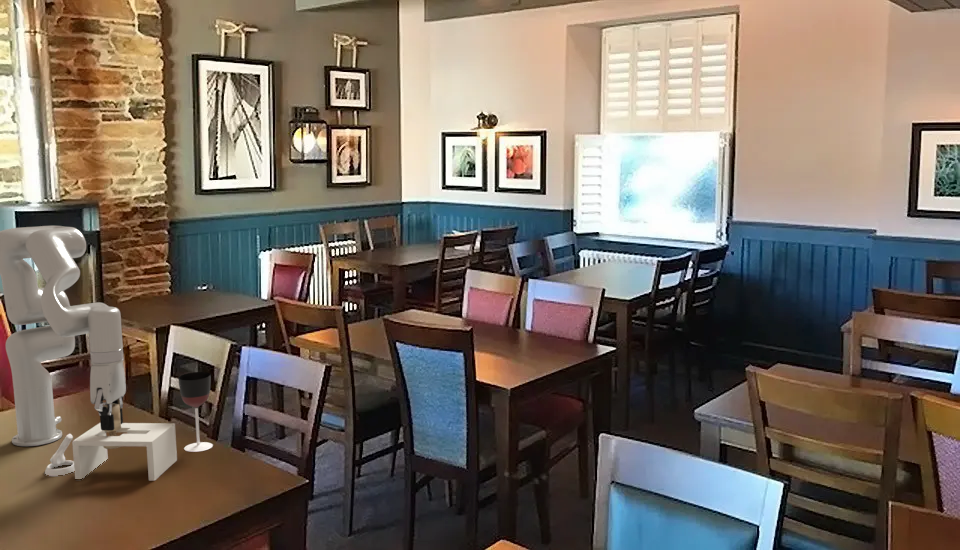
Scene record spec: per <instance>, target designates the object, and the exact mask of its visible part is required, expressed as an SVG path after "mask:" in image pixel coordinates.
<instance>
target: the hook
mask: <svg viewBox="0 0 960 550" xmlns="http://www.w3.org/2000/svg"><path fill="white" fill-rule="evenodd" d="M73 439H74V436H73V435H72V433H68V434H67V435H65V437H64V439H63V441H62V442H61V443H60V445H59V447H58V449H57V450H56V451H55V453H54V454H53V455H52V456H51V458H50V459H49V462H50V464H48V465H47V466H46V468H45V471H44V475H45V474H46V475H45V476H47V475H49V476H48V477H59V476H58V475H63V476H66V475H65V474H68V473H71V472H73V473H75V472H74V460H69V459H68V460H66V457H65V455H64V454H65V451H66V450H67V449H68V447H69V445H70V444H71V443H72V442H71V441H73ZM62 465H71V466H67V467H66V466H65V467H63V466H62ZM58 466H60V467H61V468H59V467H58ZM54 467H55V468H54ZM62 467H63V468H62ZM71 474H72V473H71ZM68 475H69V474H68Z"/></svg>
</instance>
